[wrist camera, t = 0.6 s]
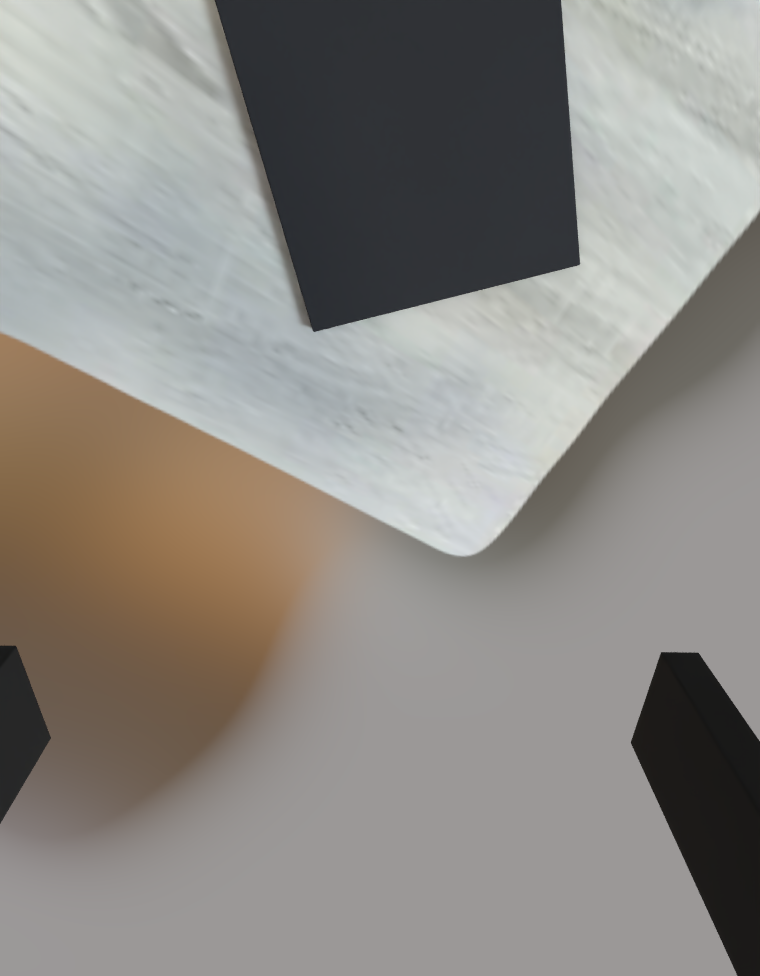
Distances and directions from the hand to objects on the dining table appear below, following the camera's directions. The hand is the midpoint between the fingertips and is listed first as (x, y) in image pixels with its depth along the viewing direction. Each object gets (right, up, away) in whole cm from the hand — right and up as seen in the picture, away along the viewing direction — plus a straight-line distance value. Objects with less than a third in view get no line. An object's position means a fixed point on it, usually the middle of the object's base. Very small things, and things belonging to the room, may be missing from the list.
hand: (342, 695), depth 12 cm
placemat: (+2, +24, +17) cm, 30 cm away
